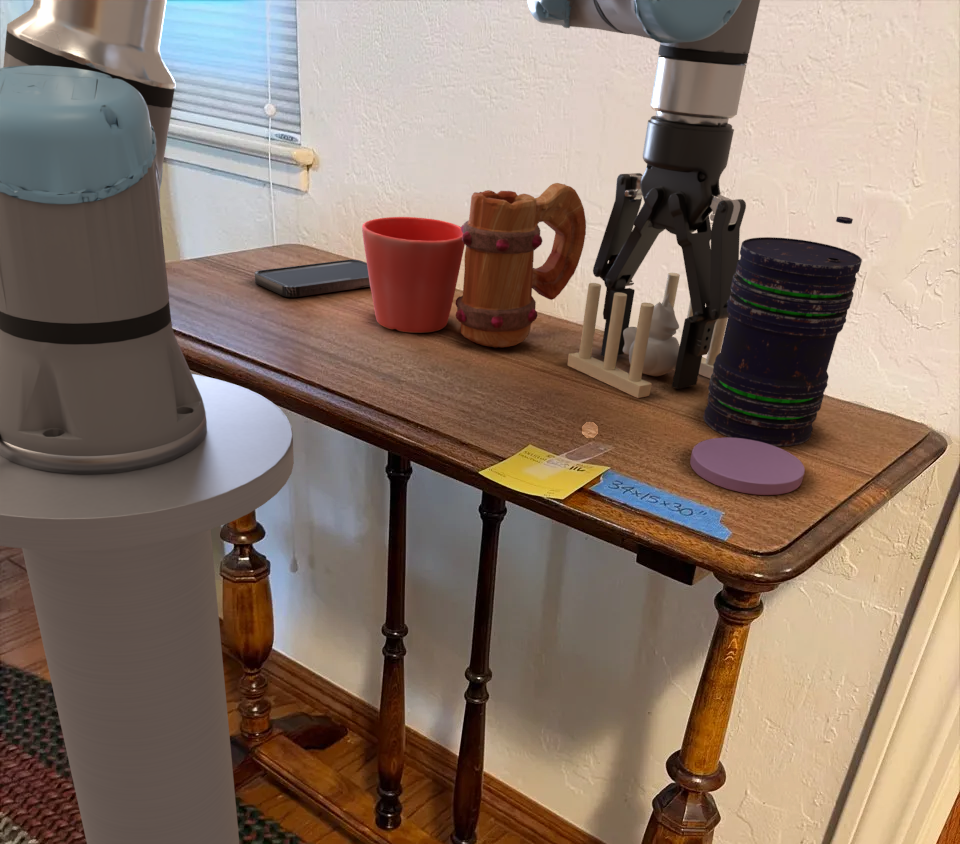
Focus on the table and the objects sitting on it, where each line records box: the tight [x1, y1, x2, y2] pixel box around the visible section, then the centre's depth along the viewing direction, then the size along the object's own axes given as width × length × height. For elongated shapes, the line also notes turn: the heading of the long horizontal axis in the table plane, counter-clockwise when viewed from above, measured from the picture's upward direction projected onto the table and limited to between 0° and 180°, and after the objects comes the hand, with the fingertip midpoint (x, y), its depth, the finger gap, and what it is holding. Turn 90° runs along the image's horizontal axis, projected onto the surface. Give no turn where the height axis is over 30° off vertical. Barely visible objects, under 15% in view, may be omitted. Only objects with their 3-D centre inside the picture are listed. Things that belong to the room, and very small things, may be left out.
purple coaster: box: [689, 437, 806, 496], centre depth 78 cm, size 9×9×1 cm
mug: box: [455, 182, 587, 349], centre depth 98 cm, size 15×8×15 cm, turn 122°
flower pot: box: [361, 216, 466, 334], centre depth 101 cm, size 11×11×10 cm
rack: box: [567, 272, 728, 399], centre depth 94 cm, size 13×10×8 cm
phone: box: [254, 259, 371, 298], centre depth 113 cm, size 8×1×15 cm
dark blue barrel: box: [703, 216, 863, 447], centre depth 81 cm, size 10×10×18 cm
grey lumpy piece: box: [623, 294, 680, 377], centre depth 94 cm, size 5×7×8 cm
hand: (647, 369), depth 96 cm, fingers open, 9 cm apart
